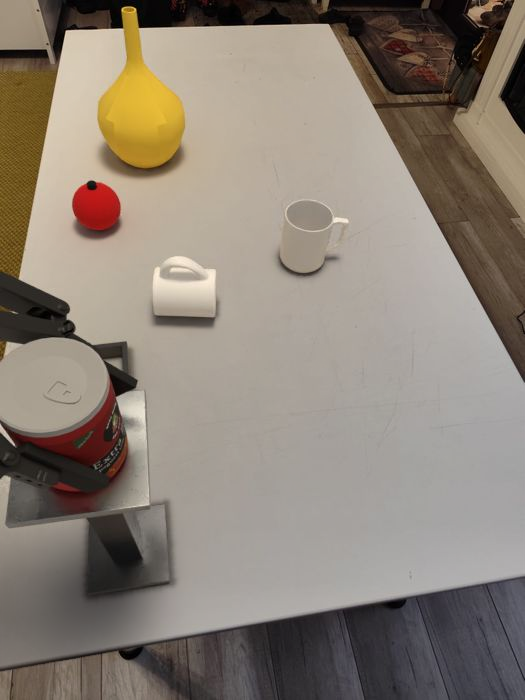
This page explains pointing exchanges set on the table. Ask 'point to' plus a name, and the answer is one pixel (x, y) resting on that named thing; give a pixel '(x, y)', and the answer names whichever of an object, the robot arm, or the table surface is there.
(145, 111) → the vase
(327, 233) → the mug
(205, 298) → the mug
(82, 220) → the ornament
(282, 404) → the table surface
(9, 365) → the canned food
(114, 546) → the steel stand
